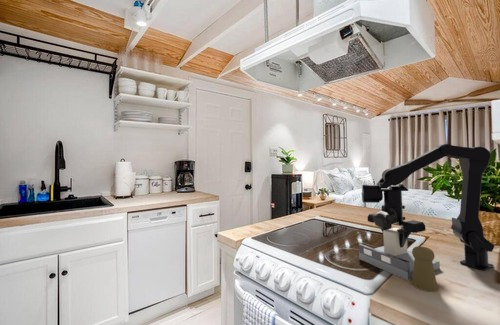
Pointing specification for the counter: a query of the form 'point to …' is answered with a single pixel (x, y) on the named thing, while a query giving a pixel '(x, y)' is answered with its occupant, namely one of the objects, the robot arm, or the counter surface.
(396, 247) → the tea box
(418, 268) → the olive pawn
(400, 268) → the shelf
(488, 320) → the counter surface
